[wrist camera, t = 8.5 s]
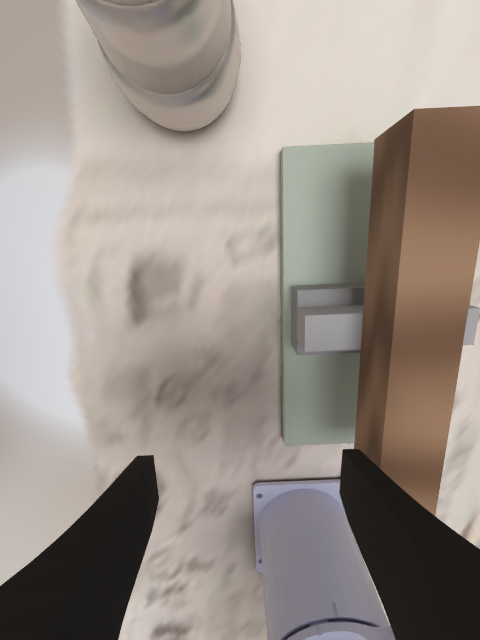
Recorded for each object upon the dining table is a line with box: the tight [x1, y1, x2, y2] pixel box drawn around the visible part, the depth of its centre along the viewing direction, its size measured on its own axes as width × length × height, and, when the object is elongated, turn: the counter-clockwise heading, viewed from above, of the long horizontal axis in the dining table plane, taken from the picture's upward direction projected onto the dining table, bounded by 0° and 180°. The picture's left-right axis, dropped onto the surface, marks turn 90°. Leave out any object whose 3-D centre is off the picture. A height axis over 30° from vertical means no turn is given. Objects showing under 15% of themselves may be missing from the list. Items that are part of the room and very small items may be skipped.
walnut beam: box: [354, 106, 480, 516], centre depth 14 cm, size 18×3×3 cm, turn 3°
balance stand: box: [280, 143, 480, 446], centre depth 18 cm, size 20×10×5 cm, turn 3°
